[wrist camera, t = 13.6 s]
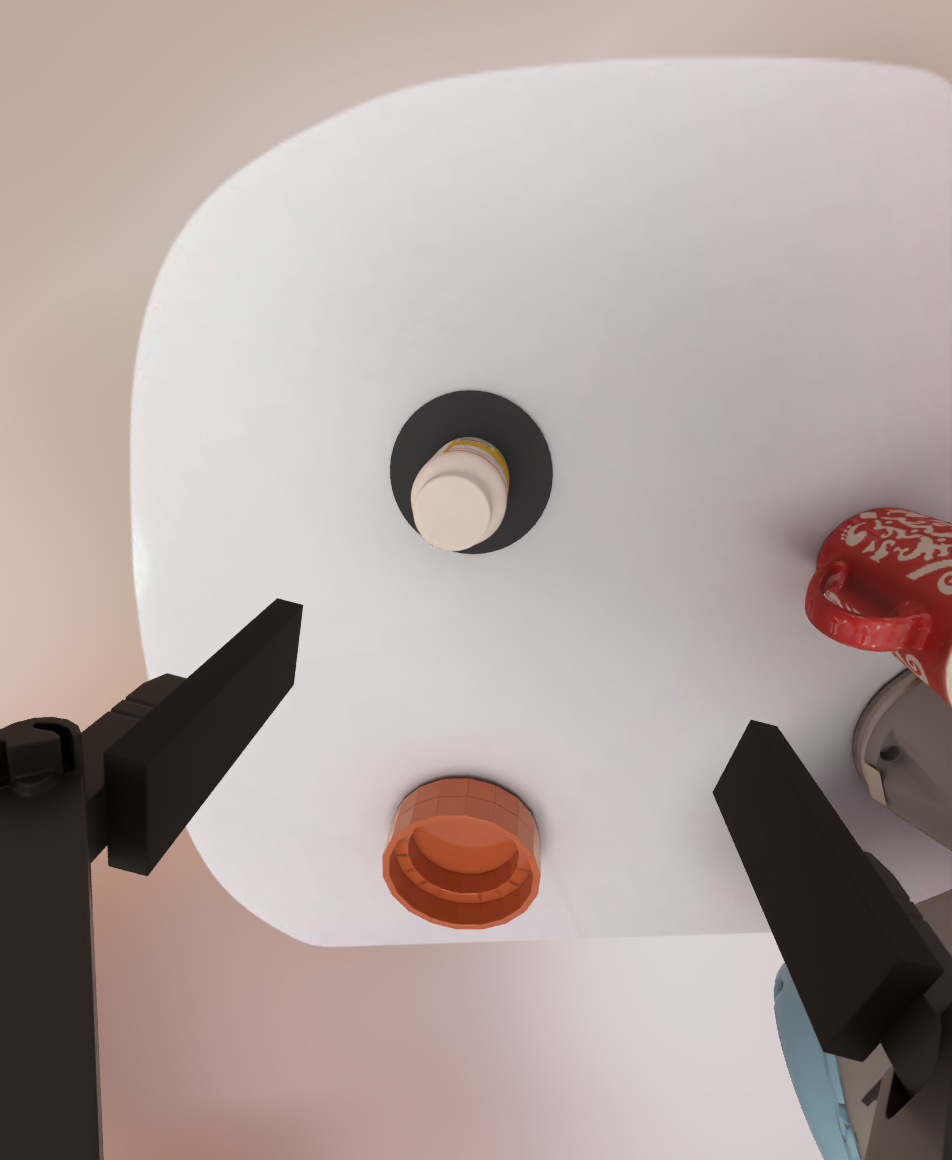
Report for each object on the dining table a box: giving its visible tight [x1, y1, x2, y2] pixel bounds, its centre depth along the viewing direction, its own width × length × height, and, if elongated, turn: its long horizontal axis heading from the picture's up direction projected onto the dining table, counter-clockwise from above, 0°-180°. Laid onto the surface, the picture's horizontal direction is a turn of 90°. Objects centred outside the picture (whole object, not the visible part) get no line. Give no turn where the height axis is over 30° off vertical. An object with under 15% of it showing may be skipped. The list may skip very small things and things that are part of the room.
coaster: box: [390, 391, 552, 554], centre depth 36 cm, size 11×11×1 cm
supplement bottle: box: [411, 437, 509, 551], centre depth 31 cm, size 5×5×10 cm
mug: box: [805, 508, 952, 709], centre depth 30 cm, size 13×9×14 cm
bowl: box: [383, 778, 541, 929], centre depth 47 cm, size 13×13×4 cm
